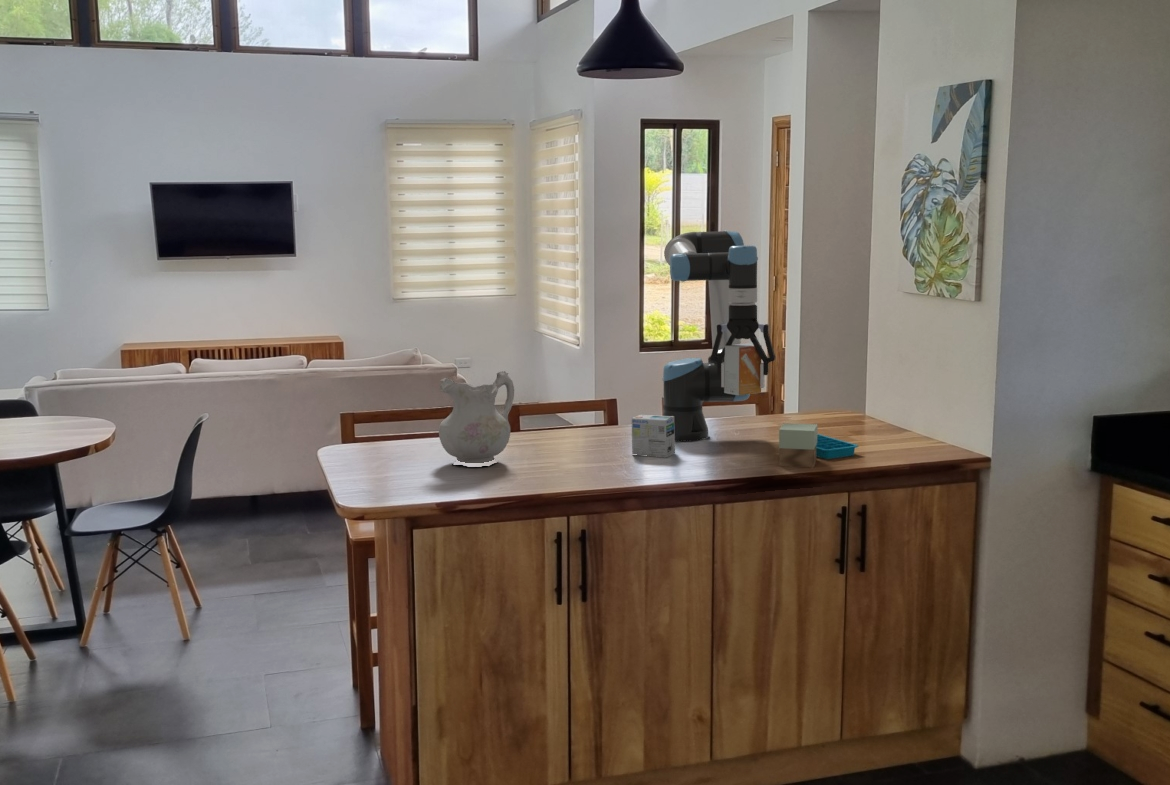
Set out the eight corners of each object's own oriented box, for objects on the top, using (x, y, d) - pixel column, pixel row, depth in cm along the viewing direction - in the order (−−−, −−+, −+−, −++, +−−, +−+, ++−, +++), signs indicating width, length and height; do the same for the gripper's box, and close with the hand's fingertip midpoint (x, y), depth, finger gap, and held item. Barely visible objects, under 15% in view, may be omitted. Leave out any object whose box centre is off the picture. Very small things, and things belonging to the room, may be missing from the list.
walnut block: (779, 466, 285) (779, 448, 285) (782, 459, 294) (782, 441, 293) (814, 468, 283) (814, 449, 282) (816, 460, 292) (816, 442, 291)
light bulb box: (675, 453, 303) (675, 415, 301) (667, 458, 297) (666, 419, 295) (640, 450, 308) (639, 413, 306) (631, 455, 302) (630, 417, 300)
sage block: (779, 448, 285) (779, 429, 284) (783, 441, 293) (783, 423, 292) (813, 449, 282) (814, 430, 281) (817, 442, 290) (817, 424, 290)
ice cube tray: (825, 461, 291) (825, 450, 290) (781, 447, 309) (781, 437, 308) (860, 456, 296) (860, 445, 295) (815, 443, 314) (815, 433, 313)
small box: (739, 396, 287) (739, 347, 285) (723, 393, 292) (723, 345, 290) (762, 392, 291) (762, 344, 289) (746, 390, 296) (746, 342, 294)
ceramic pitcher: (489, 455, 311) (481, 369, 308) (534, 459, 297) (526, 369, 294) (428, 469, 296) (419, 379, 293) (472, 474, 282) (463, 379, 279)
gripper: (698, 305, 287) (699, 388, 291) (783, 305, 281) (783, 389, 285) (703, 303, 295) (704, 384, 298) (786, 302, 288) (786, 385, 292)
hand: (742, 386), depth 291 cm, fingers closed on small box, 10 cm apart
